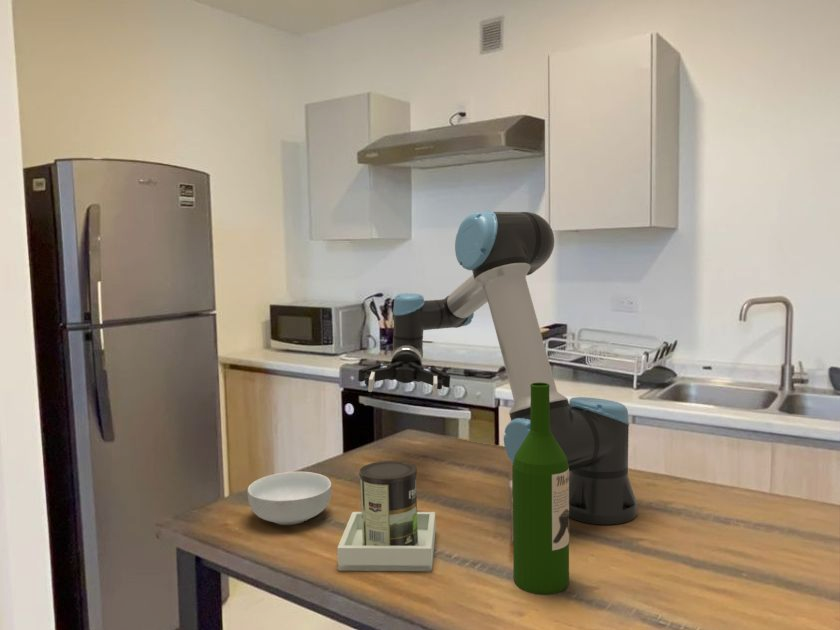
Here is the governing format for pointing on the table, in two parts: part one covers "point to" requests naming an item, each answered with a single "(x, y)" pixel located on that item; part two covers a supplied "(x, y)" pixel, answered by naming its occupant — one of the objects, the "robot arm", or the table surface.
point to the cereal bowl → (289, 496)
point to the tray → (386, 549)
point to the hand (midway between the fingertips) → (402, 387)
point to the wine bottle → (540, 504)
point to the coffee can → (389, 504)
